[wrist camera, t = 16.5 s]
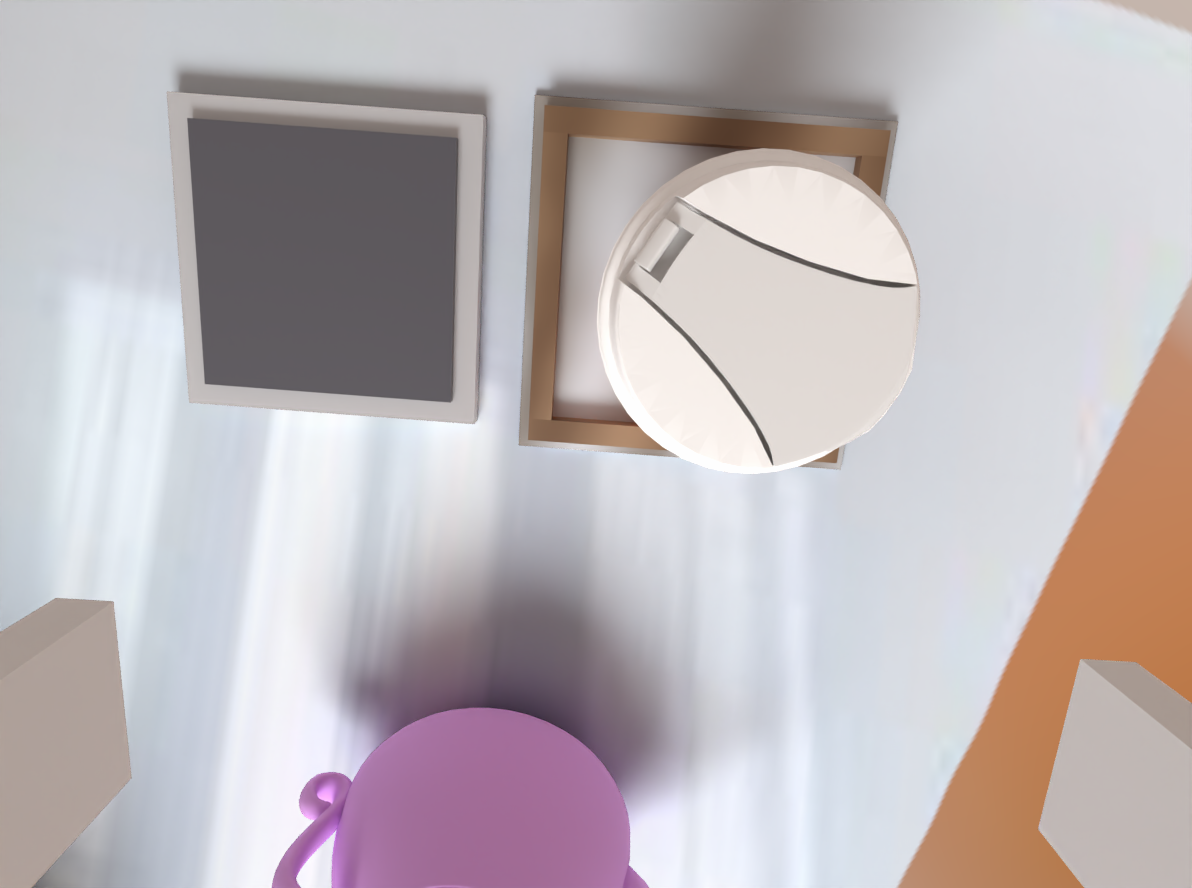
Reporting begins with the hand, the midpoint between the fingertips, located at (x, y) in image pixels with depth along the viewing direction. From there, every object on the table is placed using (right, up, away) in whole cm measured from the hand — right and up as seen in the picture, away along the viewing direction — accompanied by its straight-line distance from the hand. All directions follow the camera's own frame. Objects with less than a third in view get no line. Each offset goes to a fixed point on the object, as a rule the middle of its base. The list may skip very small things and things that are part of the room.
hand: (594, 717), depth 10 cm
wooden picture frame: (+4, +10, +22) cm, 25 cm away
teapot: (-5, -15, +29) cm, 33 cm away
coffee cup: (+4, +10, +22) cm, 25 cm away
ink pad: (-12, +12, +22) cm, 27 cm away
